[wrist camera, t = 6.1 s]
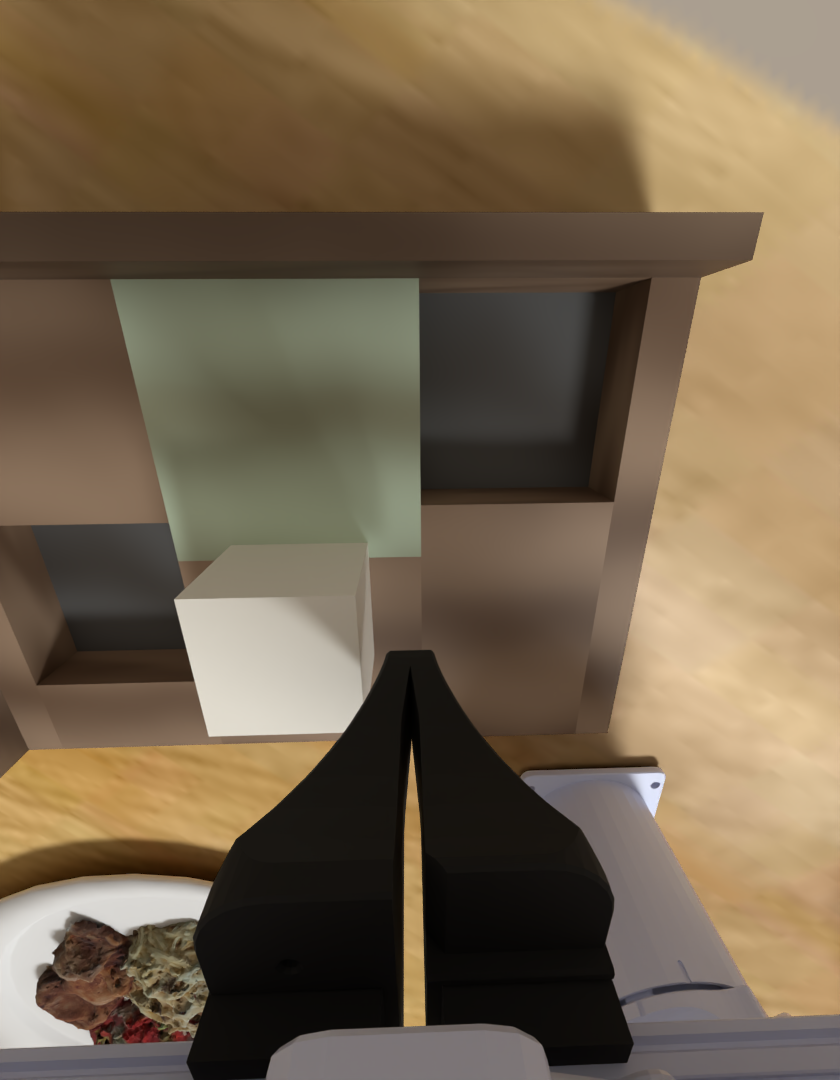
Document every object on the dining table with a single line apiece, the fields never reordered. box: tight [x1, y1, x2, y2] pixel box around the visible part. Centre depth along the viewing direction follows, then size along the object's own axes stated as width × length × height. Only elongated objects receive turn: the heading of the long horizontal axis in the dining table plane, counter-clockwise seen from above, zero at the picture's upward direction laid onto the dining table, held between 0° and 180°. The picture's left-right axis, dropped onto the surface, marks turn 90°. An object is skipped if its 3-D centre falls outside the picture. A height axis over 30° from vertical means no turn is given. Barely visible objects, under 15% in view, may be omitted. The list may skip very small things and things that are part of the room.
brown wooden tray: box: [0, 212, 764, 778], centre depth 16 cm, size 19×27×4 cm
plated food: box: [0, 874, 214, 1049], centre depth 29 cm, size 30×30×3 cm
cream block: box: [174, 543, 374, 737], centre depth 14 cm, size 5×5×4 cm
